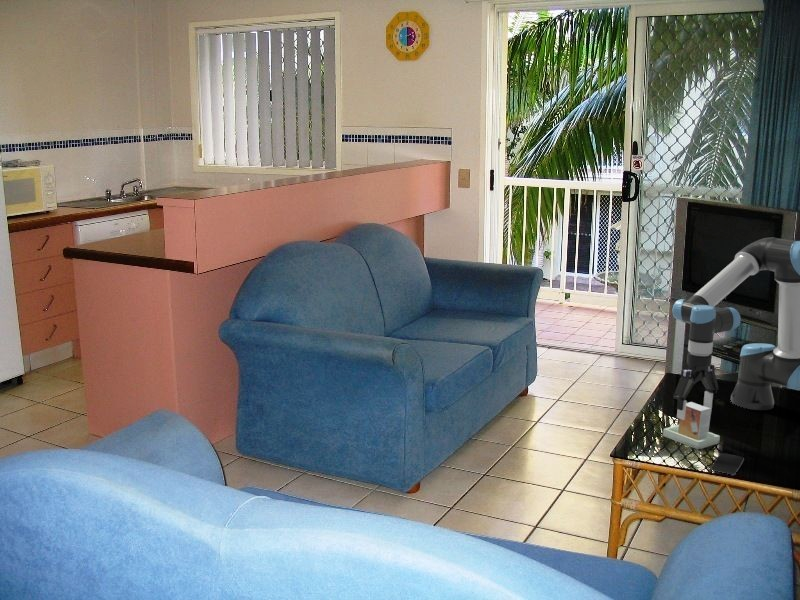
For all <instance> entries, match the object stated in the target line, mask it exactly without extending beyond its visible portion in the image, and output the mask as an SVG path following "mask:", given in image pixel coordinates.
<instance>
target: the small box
mask: <svg viewBox="0 0 800 600" xmlns="http://www.w3.org/2000/svg"><path fill="white" fill-rule="evenodd" d="M711 415H712V410H711V408H708V407H704V406H703V405H702V404H698V403H696V402H693V401H689V402H687V403H686V414H685V420H682V419H679V420H678V421H679V422H678V425H679V429H678V433H679V434H682V435H684V436H687V437H690V438H692V439H695V440H698V441H699V440H702V439H705V438H708V432H710V430H709V429H710V422H711Z"/></svg>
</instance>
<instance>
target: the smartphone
mask: <svg viewBox="0 0 800 600" xmlns="http://www.w3.org/2000/svg"><path fill="white" fill-rule="evenodd" d="M744 461H745V458H744V457H742V456H739V455H735V454H729V453H724V452H721V453H719V455H718V456H717V458H716V459H715V461H714V462H713V464H712V466H711V467H710V469H711V470H713V471H712V472H715V471H718V472H717V473H719V472H722V473H721V474H723V473H727V474H726V475H728V474H731V475H730V476H735V475H736V474H737V473H738V471H739V469H740V468H741V466H742V465H743V463H744ZM711 470H710V471H711ZM736 472H737V473H736Z"/></svg>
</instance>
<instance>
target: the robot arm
mask: <svg viewBox="0 0 800 600" xmlns="http://www.w3.org/2000/svg"><path fill="white" fill-rule="evenodd" d="M760 271H769V272H774V281H776V282H777V283H778V284H779V285H778V322H777V323H778V324H777V325H778V328H777V330H778V331H777V332H778V333H777V347H776V346H775V345H774V344H772V343H760V342H759V343H756V342H755V343H747V344H744V345H743V346H742V347H741V350H740V355H739V366H738V373H737V374H738V375H737V376H738V377H737V383H736V384H735V387H734V388H733V390H732V393H731V395H730V400H731V401H730V403H731V402H732V403H731V404H732V405H734V404H735V405H734V406H736V405H737V407H739V406H740V407H739V408H742V407H743V408H742V409H746V408H747V409H748V410H755V411H769V410H772V409H773V408H774V405H775V399H774V395H773V391H772V384H774V385H778V386H780V387H784V388H787V389H789V390H791V389H792V390H794V391H795V390H796V391H800V240H793V239H786V238H778V237H764V238H760V239H758V240H755V241H753V242H751V243H750V244H747V245H746V246H745V247H743V248H742V249H741V250H739V251H738V252H737V253H736V254H735V255H734V259H733V260H732V261H731V262H730V263H729V264H727V265H726V267H724V268H723V269H722V270H720V272H718V273H717V274H716V275H715V276H714V277H713V278H712V279H711V280H709V281H708V282H707V283H706V284H704V286H702V287H701V288H700V289H699V290H697V292H695V293H694V294H693V295H692V296H691V297H689V299H686V298H681V299H678V300H676V301H675V302H674V304H673V306H672V309H671V311H672V313H671V314H672V316H673V318H674V319H675V320H678V321H680V322H682V323H687V324H689V333H688V334H689V335H688V343H687V344H688V346H687V351H688V352H687V355H686V356H687V357H686V363H687V365H688V369H682V370H681V374H680V377H679V380H678V383H677V385H676V388H675V391H674V393H673V398H672V399H676V400H677V404H676V405H677V406H676V410H677V411H676V412H677V413H676V419H679V420H680V419H682V420H685V414H686V403H688V401H687V400H686V398H688V395H689V393H690V392H691V390H692V388H693V386H694V385H696V384H697V383H698V382H699V381H701V382H702V385H703V386H704V388H705V391H704V397H703V405H702V406H704V407H708V408H711V411H712V408H713V400H714V394H717V393H718V390H719V388H720V387H719V384H718V380H717V376H716V373H715V372H716V371H715V365H714V364H712V356H713V355H712V354H713V347H714V346H713V345H714V337H715V334H719V333H723V332H730V331H732V330H736V329H737V328H738V327H739V326H740V324H741V321H742V320H741V314H740V313H739V311H738V310H737V309H736V308H734V307H718V306H717V305H718V304H719V303H720V302H721V301H723V300H724V299H725V297H727V296H728V295H730V294H731V292H733V291H734V290H735V289H736V288H737V287H738V286H739V285H740V284H742V283H743V282H744V281H745V280H746V279H747V278H749V277H750V276H755V275H756V274H758V273H759V272H760Z"/></svg>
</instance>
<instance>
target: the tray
mask: <svg viewBox="0 0 800 600" xmlns="http://www.w3.org/2000/svg"><path fill="white" fill-rule="evenodd" d="M678 429H679V424H676V425H673V426H669V427H665V428H663V431H662V432H663V433H662V436H663V437H665V438H667V439H670V440H672V441H675V442H678V443H680V444H682V445H685V446H687V447H691V448H692V449H696V450H700V449H701V450H702V449H704V448H708V447H711V446H714V445H718V444H720V440H721V439H720V437H721V436H720V435H719V434H715V433H713V432H711V431H709V432H708V438H705V439H702V440H699V441H698V440H695V439H692V438H690V437H687V436H684V435H682V434H679V433H678Z"/></svg>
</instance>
